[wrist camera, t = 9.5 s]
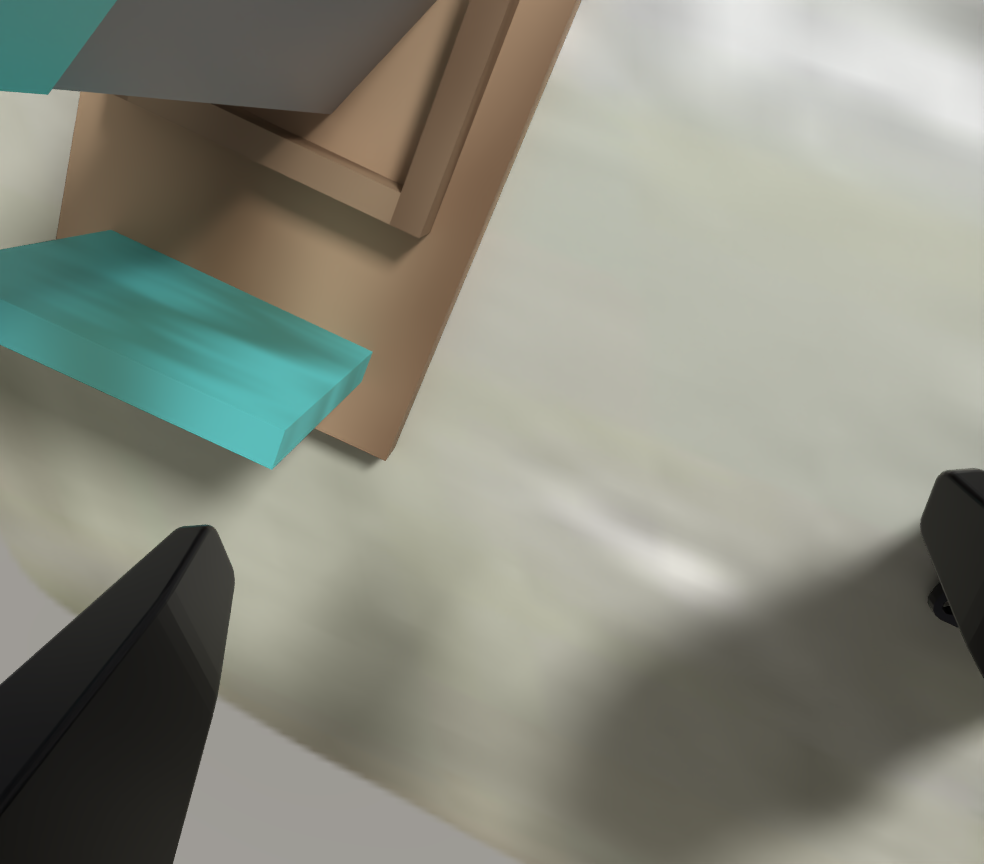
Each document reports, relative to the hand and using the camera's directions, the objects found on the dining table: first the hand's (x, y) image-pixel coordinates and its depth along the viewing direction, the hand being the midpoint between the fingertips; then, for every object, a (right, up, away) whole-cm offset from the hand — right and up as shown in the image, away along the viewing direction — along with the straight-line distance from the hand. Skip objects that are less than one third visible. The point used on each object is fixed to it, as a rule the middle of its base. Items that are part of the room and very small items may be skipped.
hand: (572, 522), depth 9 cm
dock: (-5, +10, +10) cm, 15 cm away
